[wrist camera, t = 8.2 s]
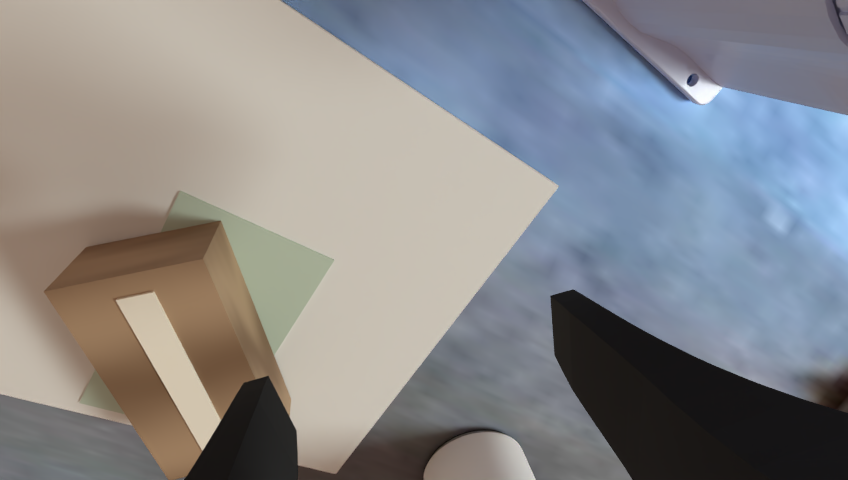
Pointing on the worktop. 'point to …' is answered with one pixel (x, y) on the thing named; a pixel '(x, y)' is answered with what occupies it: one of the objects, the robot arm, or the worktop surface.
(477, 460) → the can
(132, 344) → the tissue box
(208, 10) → the mat
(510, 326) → the worktop surface
